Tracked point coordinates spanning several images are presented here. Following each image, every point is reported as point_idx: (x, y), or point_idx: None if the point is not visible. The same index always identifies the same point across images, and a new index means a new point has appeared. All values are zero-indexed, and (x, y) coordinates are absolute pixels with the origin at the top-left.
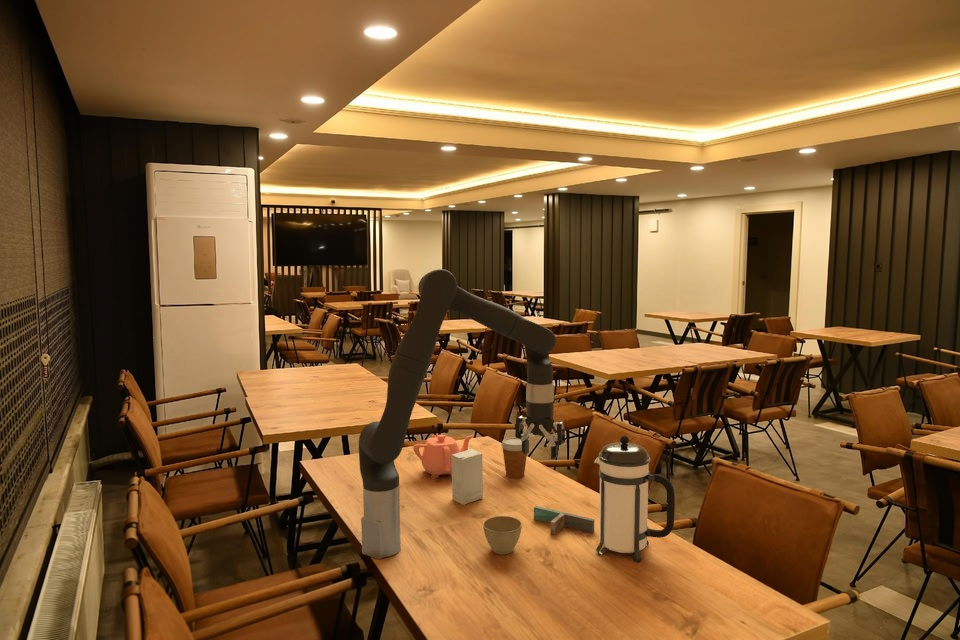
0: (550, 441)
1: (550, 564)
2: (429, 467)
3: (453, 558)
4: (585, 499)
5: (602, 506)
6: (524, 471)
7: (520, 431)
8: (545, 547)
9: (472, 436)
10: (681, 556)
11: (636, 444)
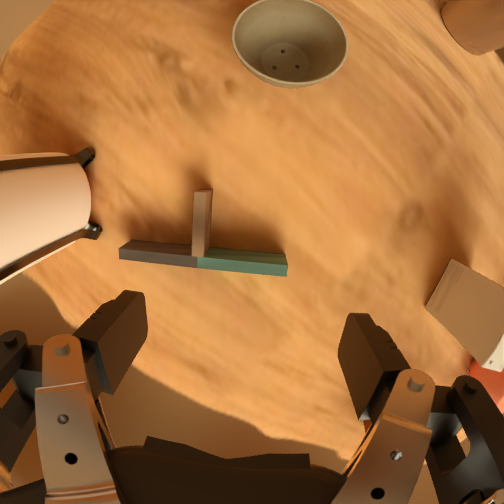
0: (75, 370)
1: (161, 58)
2: None
3: (356, 10)
4: (217, 387)
5: (16, 162)
6: (365, 428)
7: (447, 448)
8: (197, 117)
9: None
10: None
11: None
